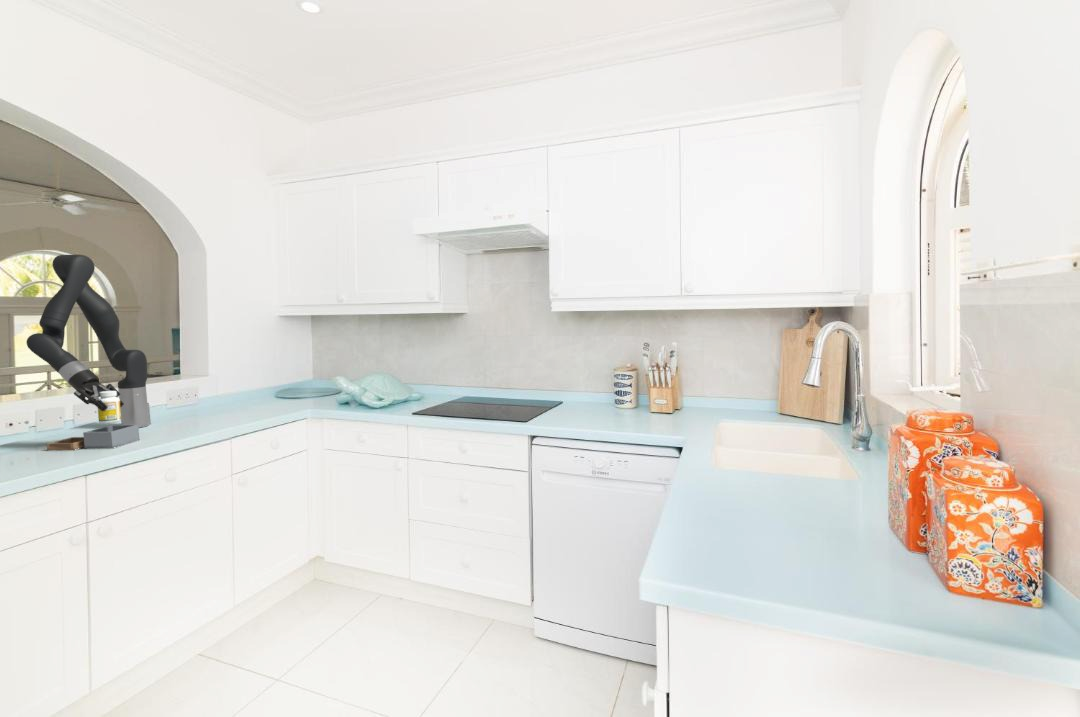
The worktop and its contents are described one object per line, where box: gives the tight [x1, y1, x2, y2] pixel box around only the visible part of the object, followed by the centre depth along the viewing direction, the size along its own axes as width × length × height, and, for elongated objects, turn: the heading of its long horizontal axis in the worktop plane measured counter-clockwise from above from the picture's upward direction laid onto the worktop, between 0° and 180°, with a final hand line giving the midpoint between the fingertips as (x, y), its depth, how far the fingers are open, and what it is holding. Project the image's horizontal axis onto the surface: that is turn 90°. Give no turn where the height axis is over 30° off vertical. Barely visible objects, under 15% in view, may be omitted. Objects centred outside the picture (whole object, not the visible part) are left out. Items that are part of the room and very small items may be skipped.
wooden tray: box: [46, 436, 85, 451], centre depth 181 cm, size 10×10×2 cm
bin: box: [82, 424, 140, 449], centre depth 184 cm, size 12×10×6 cm
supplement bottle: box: [97, 391, 121, 425], centre depth 183 cm, size 6×6×11 cm
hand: (113, 407), depth 183 cm, fingers closed on supplement bottle, 6 cm apart
